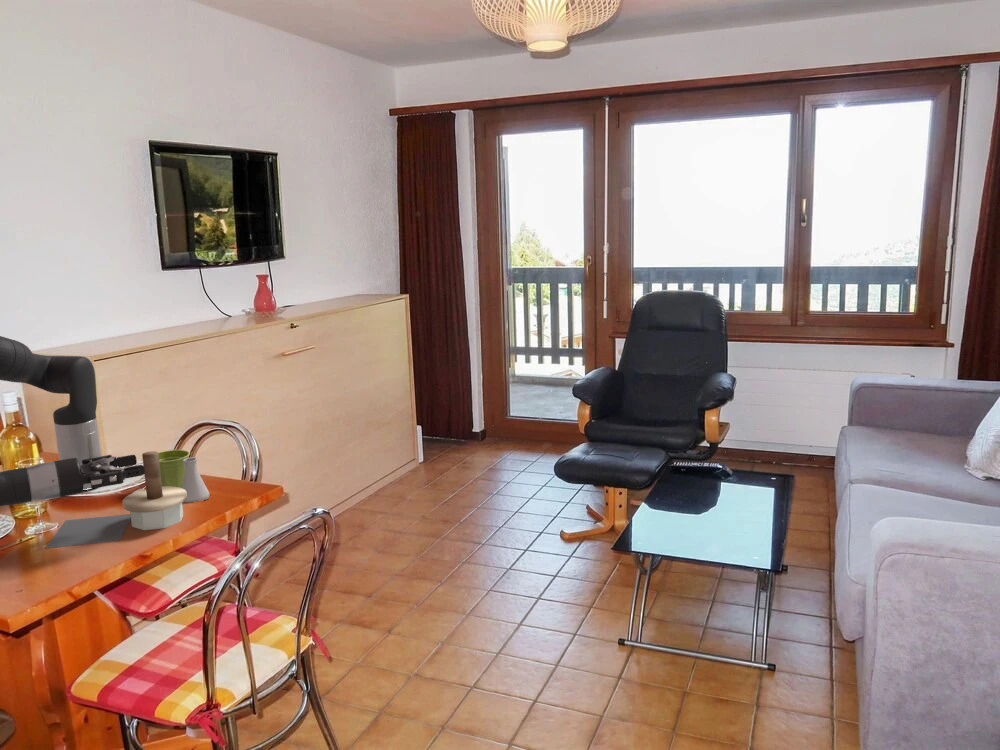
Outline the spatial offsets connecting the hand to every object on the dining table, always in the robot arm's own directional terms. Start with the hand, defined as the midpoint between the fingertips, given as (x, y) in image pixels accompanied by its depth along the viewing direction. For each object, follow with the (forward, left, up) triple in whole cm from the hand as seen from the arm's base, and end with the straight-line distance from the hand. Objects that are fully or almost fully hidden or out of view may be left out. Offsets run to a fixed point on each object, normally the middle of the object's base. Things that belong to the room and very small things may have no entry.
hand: (139, 464), depth 169 cm
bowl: (-1, +2, -14) cm, 14 cm away
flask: (-14, +8, -14) cm, 21 cm away
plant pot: (-23, +2, -14) cm, 27 cm away
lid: (-1, +2, -9) cm, 9 cm away
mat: (+1, -11, -14) cm, 18 cm away
